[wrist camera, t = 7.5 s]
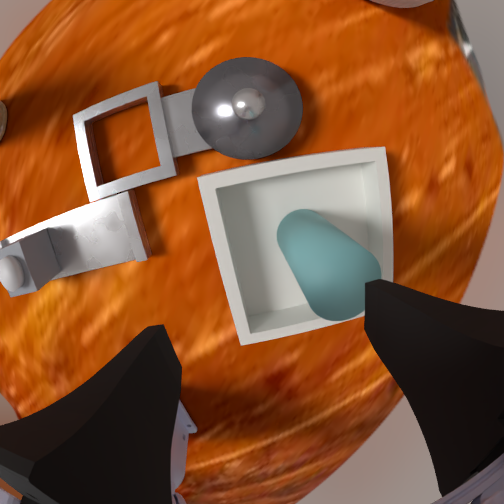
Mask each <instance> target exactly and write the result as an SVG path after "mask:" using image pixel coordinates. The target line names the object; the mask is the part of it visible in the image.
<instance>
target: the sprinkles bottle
mask: <svg viewBox="0 0 504 504" xmlns="http://www.w3.org/2000/svg"><path fill="white" fill-rule="evenodd" d="M6 123H7V110H6V107H5V105H4V103H2V102H1V101H0V141H1V139H2V137H3V135H4V132H5V129H6Z"/></svg>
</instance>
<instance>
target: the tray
mask: <svg viewBox="0 0 504 504" xmlns="http://www.w3.org/2000/svg"><path fill="white" fill-rule="evenodd" d="M197 179H198V183H199V188H200V192H201V196H202V200H203V205H204V209H205V213H206V217H207V221H208V225H209V229H210V233H211V237H212V241H213V245H214V249H215V253H216V257H217V261H218V264H219V268H220V272H221V276H222V280H223V283H224V287H225V291H226V294H227V298H228V302H229V305H230V309H231V312H232V316H233V320H234V323H235V327H236V330H237V334H238V337H239V340H240V344H241V345H247V344H252V343H257V342H262V341H267V340H271V339H276V338H281V337H285V336H289V335H294V334H298V333H302V332H306V331H310V330H314V329H318V328H322V327H326V326H330V325H333V324H337V323H341V322H344V321H348V320H351V319H355V318H358V317H361V316H365V310H364V311H363V312H362V313H360V314H359V315H357V316H355V317H353V318H351V319H348V320H343V321H329V320H325V319H323V318H321V317H319V316H318V315H316V314H315V313H314V312H313V310H312V309H311V308H310V306H309V304H308V302H307V300H306V298H305V296H304V294H303V292H302V290H301V288H300V286H299V284H298V282H297V280H296V278H295V276H294V274H293V272H292V270H291V268H290V266H289V265H288V263H287V261H286V259H285V257H284V255H283V253H282V251H281V249H280V247H279V245H278V242H277V229H278V226H279V224H280V222H281V221H282V219H283V218H284V217H285V216H286V215H287V214H289V213H290V212H292V211H295V210H299V209H308V210H312V211H314V212H316V213H317V214H319V215H320V216H322V217H323V218H324V219H326V220H327V221H329V222H330V223H331V224H333V225H334V226H336V227H337V228H338V229H340V230H341V231H342V232H344V233H345V234H346V235H348V236H349V237H350V238H352V239H353V240H354V241H356V242H357V243H358V244H360V245H361V246H362V247H364V248H365V249H366V250H368V251H369V252H370V253H372V254H373V255H374V256H375V258H376V259H377V261H378V262H379V265H380V268H381V274H382V279H383V280H387V281H390V282H393V224H392V207H391V194H390V183H389V174H388V165H387V158H386V151H385V147H364V148H354V149H345V150H337V151H329V152H321V153H314V154H307V155H301V156H294V157H288V158H282V159H277V160H271V161H266V162H260V163H255V164H250V165H245V166H240V167H235V168H231V169H226V170H222V171H217V172H213V173H209V174H204V175H202V176H200V177H198V178H197Z"/></svg>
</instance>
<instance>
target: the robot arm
mask: <svg viewBox="0 0 504 504" xmlns="http://www.w3.org/2000/svg"><path fill="white" fill-rule="evenodd" d="M364 330H365V332H366V334H367V336H368V338H369V340H370V342H371V344H372V346H373V348H374V350H375V351H376V353H377V354H378V356H379V357H380V359H381V360H382V362H383V363H384V365H385V366H386V368H387V369H388V370H389V372H390V373H391V375H392V376H393V378H394V379H395V381H396V382H397V384H398V385H399V387H400V388H401V390H402V391H403V393H404V395H405V396H406V398H407V400H408V402H409V404H410V406H411V408H412V410H413V412H414V414H415V416H416V418H417V421H418V423H419V426H420V428H421V430H422V433H423V435H424V438H425V440H426V443H427V446H428V449H429V452H430V455H431V458H432V462H433V465H434V469H435V473H436V477H437V481H438V487H439V491H440V493H441V495H442V498H440V499H439V500H437V501H435V502H434V503H432V504H468V503H469V502H471V501H472V500H473V499H474V500H473V501H472V502H471V504H504V311H499V310H489V309H482V308H476V307H471V306H467V305H462V304H458V303H454V302H451V301H447V300H444V299H440V298H437V297H434V296H431V295H428V294H425V293H422V292H419V291H416V290H413V289H411V288H408V287H405V286H402V285H399V284H396V283H393V282H390V281H387V280H383V279H377V280H373V281H370V282H366V283H365V322H364ZM181 377H182V366H181V364H180V362H179V360H178V358H177V355H176V353H175V351H174V348H173V346H172V344H171V341H170V339H169V337H168V334H167V332H166V329H165V327H164V324H162V325H155V326H148V327H147V328H146V329H144V330H143V331H142V332H141V333H139V334H138V335H137V336H136V337H135V338H134V339H133V340H132V341H131V342H130V343H129V344H128V345H127V346H126V347H125V348H123V349H122V350H121V351H120V352H119V353H118V354H117V355H116V356H115V357H114V358H113V359H112V360H111V361H110V362H108V363H107V364H106V365H105V366H104V367H103V368H102V369H100V370H99V371H98V372H97V373H96V374H95V375H94V376H92V377H91V378H90V379H89V380H87V381H86V382H85V383H84V384H82V385H81V386H79V387H78V388H77V389H75V390H74V391H72V392H71V393H69V394H68V395H66V396H65V397H63V398H61V399H60V400H58V401H56V402H55V403H53V404H51V405H50V406H48V407H46V408H44V409H42V410H40V411H38V412H36V413H34V414H32V415H29V416H27V417H25V418H22V419H20V420H17V421H14V422H11V423H8V424H4V425H1V426H0V478H2V479H3V480H4V481H5V482H6V483H8V484H9V485H10V486H11V487H13V488H14V489H15V490H17V491H18V492H19V493H21V494H22V495H23V497H22V500H19V499H18V498H16V497H14V496H13V495H11V494H10V493H8V492H6V491H5V490H3V489H2V488H0V504H186V502H185V500H184V498H183V497H182V496H181V495H180V494H178V493H175V489H176V488H177V487H178V486H179V485H180V484H181V482H182V480H183V478H184V475H185V466H186V455H187V445H188V435H189V433H196V432H197V427H196V426H195V424H194V422H193V421H192V419H191V418H190V416H189V414H188V413H187V411H186V409H185V408H184V406H183V404H182V403H181V401H180V393H181Z"/></svg>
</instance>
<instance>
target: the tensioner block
mask: <svg viewBox="0 0 504 504" xmlns="http://www.w3.org/2000/svg"><path fill="white" fill-rule="evenodd" d="M147 101H148V105H149V111H150V116H151V121H152V126H153V131H154V136H155V141H156V146H157V151H158V155H159V160H160V164H161V166H159V167H156V168H152V169H149V170H146V171H143V172H139V173H136V174H133V175H130V176H127V177H124V178H121V179H118V180H115V181H112V182H109V183H107V184H104V181H103V177H102V173H101V168H100V164H99V159H98V154H97V149H96V144H95V138H94V133H93V127H92V123H93V122H95V121H98V120H100V119H102V118H105V117H107V116H109V115H112V114H114V113H117V112H119V111H122V110H125V109H127V108H130V107H133V106H136V105H138V104H141V103H144V102H147ZM302 113H303V104H302V98H301V94H300V91H299V89H298V87H297V85H296V84H295V82H294V80H293V79H292V78H291V77H290V76H289V74H287V73H286V72H285V71H284V70H283V69H282V68H280V67H279V66H277V65H275V64H273V63H271V62H269V61H266V60H263V59H259V58H252V57H242V58H235V59H231V60H228V61H225V62H222V63H220V64H219V65H217V66H215V67H214V68H212V69H211V70H210V71H209V72H207V73H206V74H205V75H204V77H203V78H202V79H201V80H200V82H199V83H198V85H197V87H196V88H195V89H191V90H187V91H183V92H180V93H176V94H173V95H169V96H166V97H164V94H163V89H162V85H161V84H160V83H159V82H158V81H156V82H152V83H149V84H146V85H144V86H141V87H138V88H135V89H132V90H130V91H127V92H124V93H122V94H119V95H117V96H114V97H112V98H109V99H107V100H105V101H102V102H100V103H98V104H96V105H93V106H91V107H89V108H87V109H85V110H83V111H81V112H78V113H76V114H74V115H73V120H74V127H75V134H76V140H77V146H78V151H79V156H80V161H81V166H82V171H83V175H84V180H85V184H86V188H87V192H88V196H89V200H90V202H92V201H95V200H98V199H101V198H104V197H106V196H109V195H112V194H115V193H118V192H121V191H125V190H128V189H131V188H134V187H137V186H141V185H144V184H147V183H151V182H154V181H158V180H161V179H165V178H168V177H172V176H176V175H179V174H180V171H179V167H178V163H177V157H181V156H185V155H189V154H193V153H196V152H201V151H205V150H209V149H215V150H216V151H218V152H220V153H221V154H223V155H226V156H228V157H232V158H236V159H257V158H262V157H266V156H268V155H271V154H273V153H275V152H277V151H279V150H280V149H282V148H283V147H284V146H285V145H287V144H288V143H289V142H290V141H291V139H292V138H293V137H294V135H295V134H296V132H297V130H298V128H299V126H300V123H301V119H302Z"/></svg>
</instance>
